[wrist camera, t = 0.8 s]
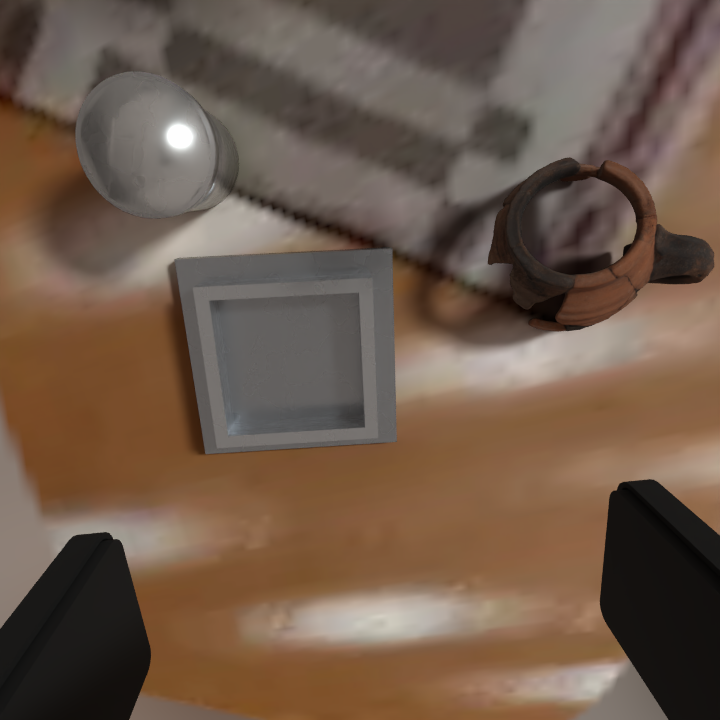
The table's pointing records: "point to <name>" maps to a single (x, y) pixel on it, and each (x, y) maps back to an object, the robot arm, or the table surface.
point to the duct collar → (291, 348)
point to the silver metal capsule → (154, 147)
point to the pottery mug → (610, 285)
